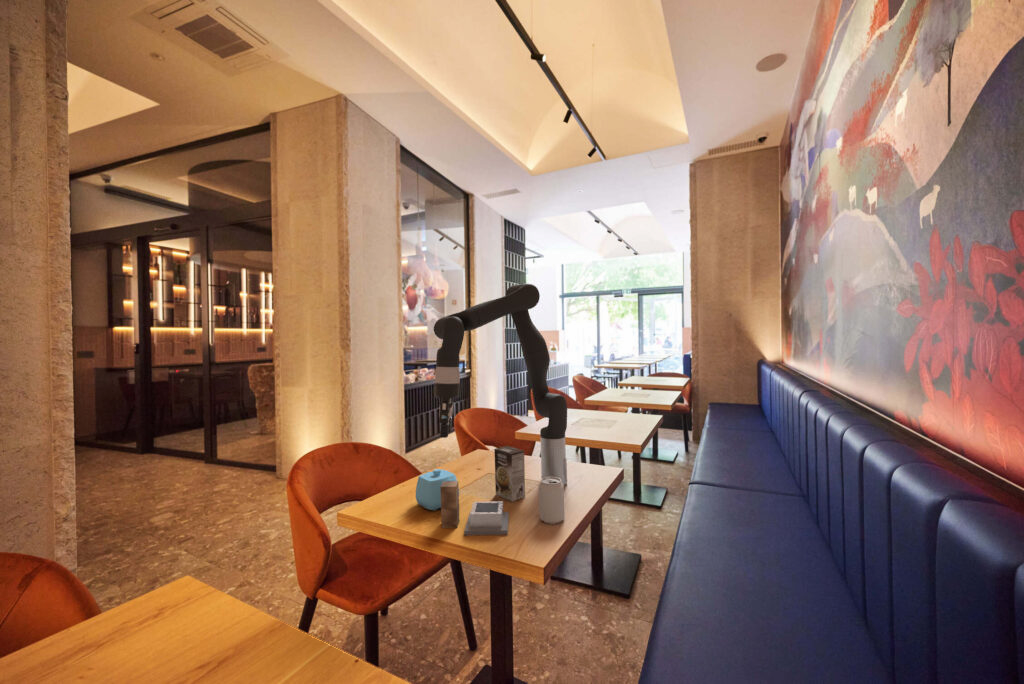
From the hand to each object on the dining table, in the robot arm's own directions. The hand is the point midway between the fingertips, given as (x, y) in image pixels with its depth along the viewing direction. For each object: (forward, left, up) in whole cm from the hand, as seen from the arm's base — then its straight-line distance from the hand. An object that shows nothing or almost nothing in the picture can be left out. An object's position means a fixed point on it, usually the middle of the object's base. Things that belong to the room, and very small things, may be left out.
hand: (445, 434), depth 126 cm
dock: (-13, +6, -25) cm, 29 cm away
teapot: (+4, -9, -26) cm, 28 cm away
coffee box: (-19, -16, -26) cm, 36 cm away
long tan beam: (-2, +5, -25) cm, 26 cm away
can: (-32, +3, -26) cm, 41 cm away
